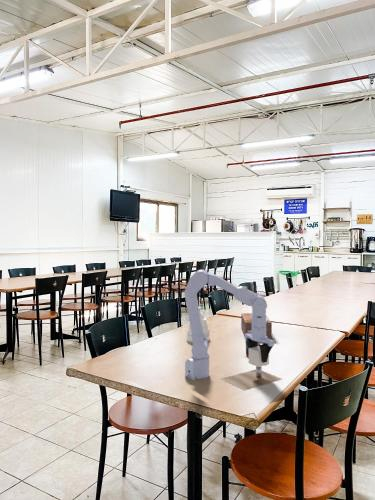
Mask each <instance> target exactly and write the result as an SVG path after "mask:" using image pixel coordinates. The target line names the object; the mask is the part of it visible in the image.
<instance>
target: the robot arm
mask: <svg viewBox="0 0 375 500" xmlns="http://www.w3.org/2000/svg"><path fill="white" fill-rule="evenodd" d="M207 284H208V285H207ZM206 286H208V287H210V286H213V287H214V286H216V287H219V288H220V289H222V290H224V291H226V292H228V293H230V294H232V295H233V298H234V300H236V301H238V302H240V303H242V304H243V305H246V306H248V307H251V311H252V312H251V313H252V334H250V333H247V334H245V337H244V339H248V341H246V340H245V341H244V342H245V345H246V344H247V346H248V348H252V347H256V346H257V345H258V342H260V345H259V348H260V351H261V360H262V362H263V363H264V362H267V359H268V355H269V356H270V352H271V350H272V349H273V347H274V346H275V340H273V339H272V340H271V339H269V338H267V336H266V316H267V308H268V304H267V301H266V299H265V298H264V296H262V295H261V294H259V293H257V292H253V291H252V290H249V289H248V286H246V285H245V286H242V285H240V286H236V285H234V284H232V283H230V282H229V281H227V280H225V279H223V278H222V277H220V276H219V275H217V274H214V273H212V272H211V271H207V270H206V269H204V268H203V269H198V270H196V271H195V272H194V273H193V274H192V275H191V276H190V278H189V280H188V282H187V285H186V287H185V289H184V291H183V292H184V298H185V299H184V300H185V304H186V309H187V315H188V321H189V323H190V326H191V332H192V342H191V343H192V347H191V357H190V358H188V359H186V360H185V362H184V363H185V364H184V368H185V369H184V371H185V372H184V373H185V374H184V376H185V377H187V378H188V379H191V380H193V381H194V380H199V379H206V378H208V377H209V376H210V355H209V353H208V349H209V346H210V344H209V341H207V340H206V338H205V335H204V332H203V327H202V322H201V316H200V311H201V310H200V311H199V307H200V305H199V299H198V296H197V295H198V293H199V291H200V290H201V289H203V288H204V287H206Z"/></svg>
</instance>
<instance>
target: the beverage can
mask: <svg viewBox="0 0 375 500" xmlns="http://www.w3.org/2000/svg"><path fill="white" fill-rule="evenodd" d="M247 333H250V334H252V330H248V331H247ZM247 333H246V334H247ZM246 341H248V339H246V340H245V342H246ZM259 345H261V343H260V342H258V345H257V346H259ZM245 355H246V356H247V357H249V348H248V346H247V344H246V343H245Z"/></svg>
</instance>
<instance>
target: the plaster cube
mask: <svg viewBox="0 0 375 500" xmlns="http://www.w3.org/2000/svg"><path fill="white" fill-rule="evenodd" d="M248 364H249V365H252V366H254V367H256V366H257V367H260V366H261V367H263V366H267V365H270V354H269V355H268V359H267V362H264V363H263V362H262V360H261V351H260V348H259V346H256V347H252V348H249V356H248Z"/></svg>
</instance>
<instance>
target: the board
mask: <svg viewBox="0 0 375 500" xmlns="http://www.w3.org/2000/svg"><path fill="white" fill-rule="evenodd" d="M220 380H222V381H224V382H225V383H228V384H230V385H232V386H234V387H236V388H237V389H241V390H242V391H247V390H251V389H253V388H258V387H261V386H264V385H267V384H271V383H274V382H278V381H282V378H281V377H279V376H276V375H274V374H271V373H270V372H269V373H268V372H266V371H263V370H262V377H261V378H257V377H256V369H252V370H248V371H244V372H241V373H238V374H234V375H230V376H226V377H223V378H220Z"/></svg>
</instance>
